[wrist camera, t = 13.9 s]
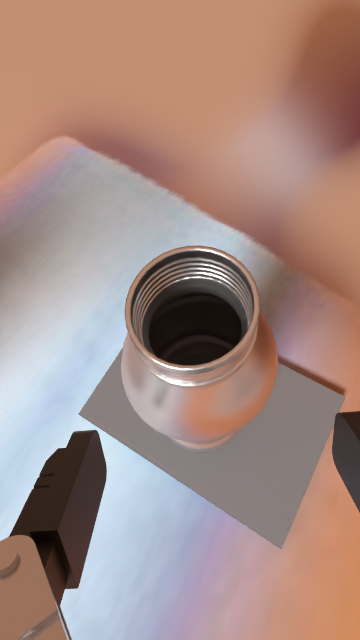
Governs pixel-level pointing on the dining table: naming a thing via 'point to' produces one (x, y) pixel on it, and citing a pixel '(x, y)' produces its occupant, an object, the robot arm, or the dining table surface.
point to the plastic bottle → (197, 347)
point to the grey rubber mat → (236, 449)
